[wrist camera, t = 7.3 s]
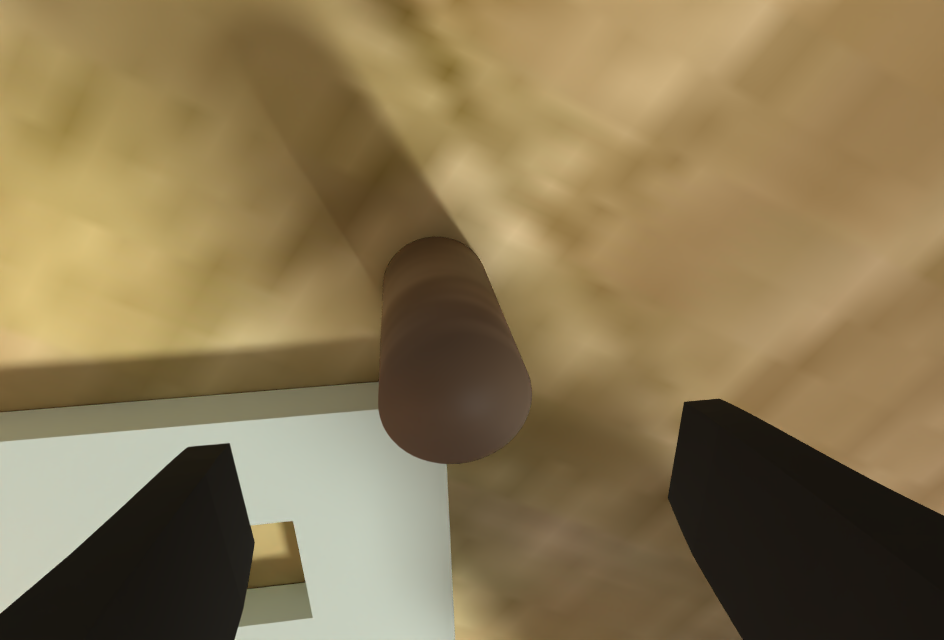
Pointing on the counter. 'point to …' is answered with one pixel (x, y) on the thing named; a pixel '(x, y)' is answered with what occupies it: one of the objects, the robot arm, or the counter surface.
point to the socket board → (249, 502)
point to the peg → (447, 357)
